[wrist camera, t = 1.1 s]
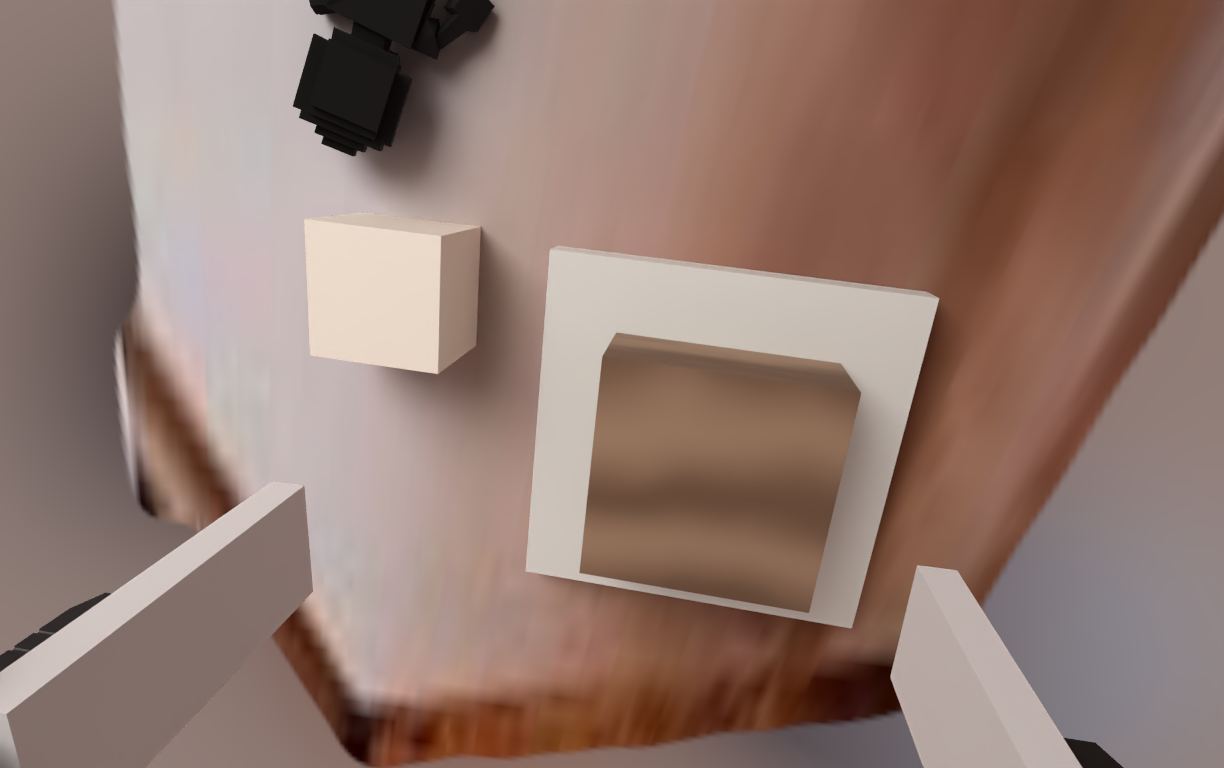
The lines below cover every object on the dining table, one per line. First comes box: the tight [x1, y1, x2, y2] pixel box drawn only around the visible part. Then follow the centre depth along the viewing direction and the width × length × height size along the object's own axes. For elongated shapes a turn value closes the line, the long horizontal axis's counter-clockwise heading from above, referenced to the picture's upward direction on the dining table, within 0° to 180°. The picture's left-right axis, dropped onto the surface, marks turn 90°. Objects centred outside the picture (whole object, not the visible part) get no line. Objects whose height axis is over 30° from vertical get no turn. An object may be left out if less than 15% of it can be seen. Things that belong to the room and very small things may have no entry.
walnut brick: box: [579, 333, 861, 613], centre depth 35 cm, size 12×12×5 cm
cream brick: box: [304, 212, 481, 374], centre depth 36 cm, size 7×7×6 cm
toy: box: [293, 0, 494, 156], centre depth 32 cm, size 8×15×5 cm, turn 141°
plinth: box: [526, 246, 939, 629], centre depth 38 cm, size 20×20×2 cm
